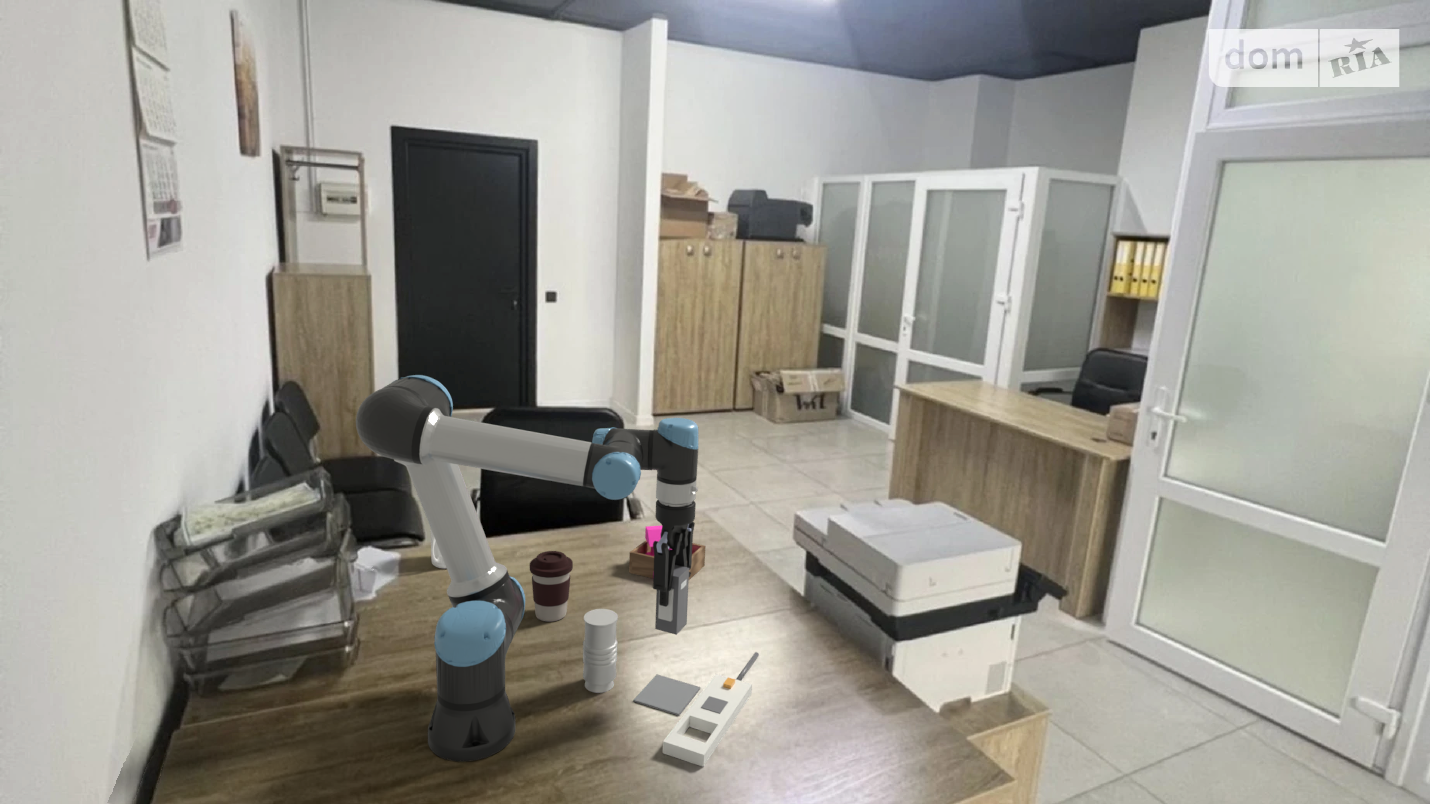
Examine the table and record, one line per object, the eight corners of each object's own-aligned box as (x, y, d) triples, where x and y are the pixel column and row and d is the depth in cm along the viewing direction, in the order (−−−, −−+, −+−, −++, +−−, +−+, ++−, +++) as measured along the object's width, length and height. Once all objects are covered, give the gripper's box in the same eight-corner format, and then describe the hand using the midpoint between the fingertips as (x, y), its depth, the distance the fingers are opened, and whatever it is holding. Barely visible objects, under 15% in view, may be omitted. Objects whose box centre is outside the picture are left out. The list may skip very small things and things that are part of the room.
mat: (679, 715, 147) (679, 714, 147) (633, 701, 151) (633, 699, 151) (700, 688, 156) (700, 687, 156) (656, 675, 160) (656, 674, 160)
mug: (473, 555, 212) (472, 516, 209) (457, 574, 200) (456, 533, 198) (439, 553, 212) (438, 514, 210) (421, 572, 200) (420, 530, 198)
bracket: (644, 561, 214) (645, 526, 212) (679, 558, 217) (681, 524, 215) (653, 579, 203) (655, 543, 201) (691, 576, 206) (693, 540, 204)
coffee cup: (577, 607, 187) (577, 549, 183) (565, 627, 177) (565, 567, 174) (537, 603, 188) (537, 546, 184) (523, 623, 178) (523, 563, 175)
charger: (676, 634, 147) (679, 577, 144) (655, 629, 149) (657, 571, 146) (686, 624, 151) (689, 567, 149) (665, 618, 153) (667, 563, 150)
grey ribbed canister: (611, 672, 160) (613, 606, 157) (620, 690, 154) (621, 622, 151) (579, 677, 158) (580, 610, 154) (586, 696, 151) (587, 627, 148)
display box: (682, 586, 201) (683, 564, 199) (629, 572, 207) (629, 552, 205) (704, 565, 213) (705, 545, 212) (653, 554, 219) (653, 534, 218)
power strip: (703, 766, 133) (704, 750, 133) (662, 753, 136) (663, 737, 136) (773, 660, 168) (774, 647, 167) (739, 651, 171) (740, 638, 170)
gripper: (673, 518, 135) (668, 638, 140) (712, 490, 151) (707, 598, 156) (635, 511, 138) (632, 628, 143) (678, 483, 154) (674, 590, 159)
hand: (671, 612), depth 149 cm, fingers closed on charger, 5 cm apart
